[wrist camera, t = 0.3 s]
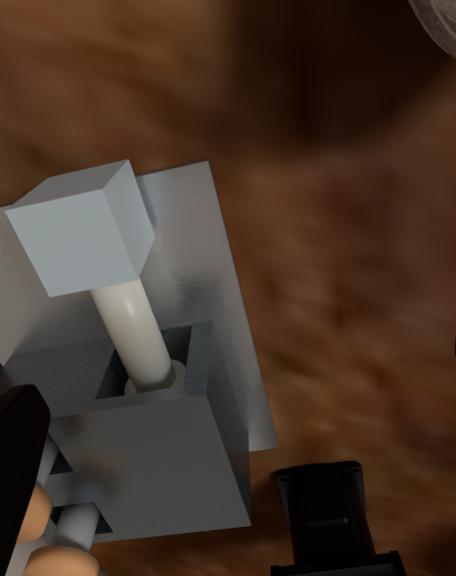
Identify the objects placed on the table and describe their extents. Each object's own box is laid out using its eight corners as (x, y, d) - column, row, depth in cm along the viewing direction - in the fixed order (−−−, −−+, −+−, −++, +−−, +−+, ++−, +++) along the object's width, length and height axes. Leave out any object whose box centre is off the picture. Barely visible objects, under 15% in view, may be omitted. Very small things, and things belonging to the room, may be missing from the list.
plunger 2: (123, 518, 27) (104, 598, 23) (68, 524, 27) (40, 604, 23) (101, 482, 25) (77, 562, 21) (42, 489, 25) (7, 569, 21)
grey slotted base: (277, 440, 31) (287, 531, 25) (76, 467, 33) (42, 557, 27) (208, 157, 20) (198, 204, 15) (-81, 223, 22) (-189, 286, 17)
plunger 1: (87, 458, 24) (58, 539, 20) (25, 466, 24) (-15, 546, 20) (58, 411, 22) (20, 490, 18) (-8, 421, 22) (-59, 501, 18)
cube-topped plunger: (223, 438, 29) (221, 498, 25) (168, 445, 29) (158, 505, 26) (128, 159, 19) (102, 188, 15) (48, 177, 20) (4, 210, 16)
